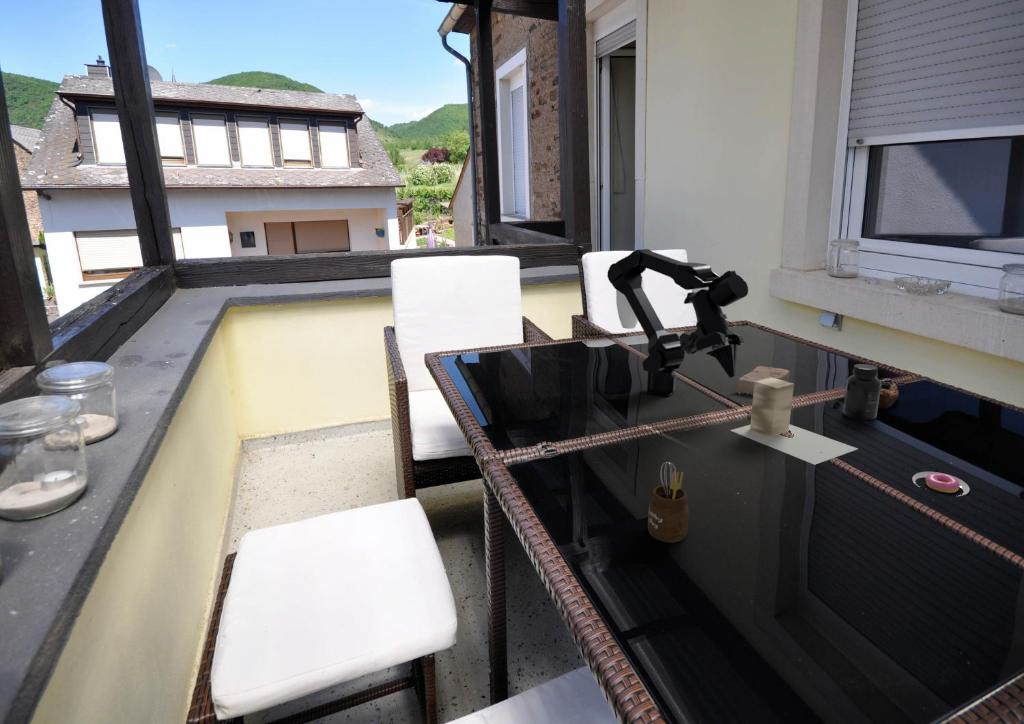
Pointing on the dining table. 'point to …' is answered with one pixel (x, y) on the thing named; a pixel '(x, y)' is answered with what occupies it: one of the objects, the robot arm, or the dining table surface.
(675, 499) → the utensil holder
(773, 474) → the dining table surface
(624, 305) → the cup
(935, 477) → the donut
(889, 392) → the pastry
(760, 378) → the brick
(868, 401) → the supplement bottle
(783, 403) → the block
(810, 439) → the mat
